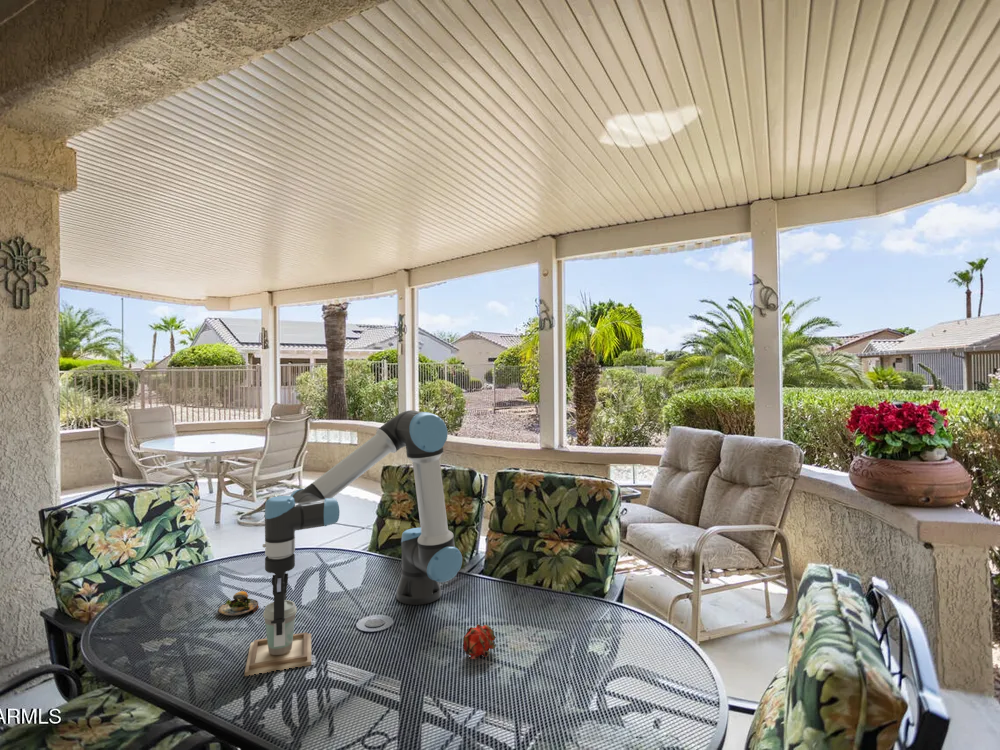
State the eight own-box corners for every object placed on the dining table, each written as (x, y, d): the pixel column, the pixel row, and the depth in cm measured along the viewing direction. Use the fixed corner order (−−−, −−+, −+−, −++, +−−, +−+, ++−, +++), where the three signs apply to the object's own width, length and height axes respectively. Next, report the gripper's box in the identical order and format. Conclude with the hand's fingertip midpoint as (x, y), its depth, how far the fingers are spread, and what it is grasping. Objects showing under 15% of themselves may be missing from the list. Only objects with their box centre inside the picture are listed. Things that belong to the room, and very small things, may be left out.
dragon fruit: (492, 650, 153) (471, 677, 143) (470, 628, 156) (448, 654, 145) (507, 632, 150) (486, 658, 140) (484, 610, 153) (461, 634, 142)
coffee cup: (285, 659, 143) (285, 614, 143) (256, 656, 144) (256, 611, 144) (303, 643, 151) (303, 600, 151) (275, 640, 153) (275, 597, 153)
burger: (209, 615, 172) (209, 592, 172) (240, 601, 183) (239, 579, 183) (237, 622, 167) (237, 598, 167) (267, 607, 178) (267, 584, 178)
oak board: (311, 636, 158) (311, 630, 158) (311, 665, 143) (311, 657, 143) (251, 646, 153) (250, 639, 153) (244, 676, 138) (244, 668, 137)
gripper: (267, 544, 156) (268, 622, 157) (261, 570, 136) (262, 659, 136) (295, 541, 159) (296, 618, 159) (293, 566, 139) (294, 654, 139)
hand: (280, 637), depth 148 cm, fingers closed on coffee cup, 9 cm apart
